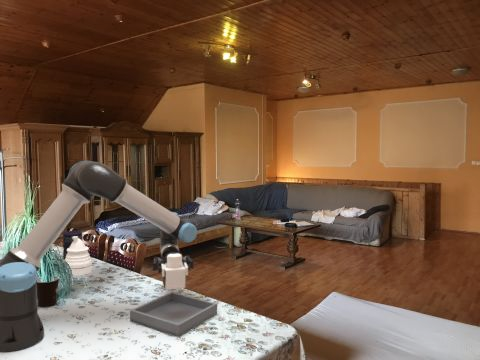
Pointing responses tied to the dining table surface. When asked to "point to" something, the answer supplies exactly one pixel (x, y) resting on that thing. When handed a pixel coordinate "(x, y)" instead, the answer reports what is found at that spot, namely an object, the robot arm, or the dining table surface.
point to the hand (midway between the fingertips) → (175, 272)
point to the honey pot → (78, 258)
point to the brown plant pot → (47, 292)
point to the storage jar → (69, 240)
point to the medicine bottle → (174, 271)
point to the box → (173, 313)
